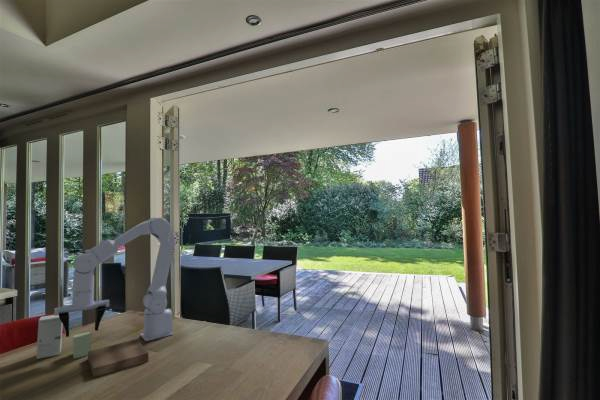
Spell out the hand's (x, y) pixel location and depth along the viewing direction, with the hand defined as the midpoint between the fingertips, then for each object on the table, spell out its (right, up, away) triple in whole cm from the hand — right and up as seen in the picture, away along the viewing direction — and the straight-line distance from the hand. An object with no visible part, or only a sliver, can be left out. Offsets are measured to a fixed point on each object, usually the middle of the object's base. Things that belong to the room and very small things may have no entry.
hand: (82, 332), depth 98 cm
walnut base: (+15, -6, -5) cm, 17 cm away
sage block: (0, -7, 0) cm, 7 cm away
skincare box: (-11, -7, 0) cm, 13 cm away
